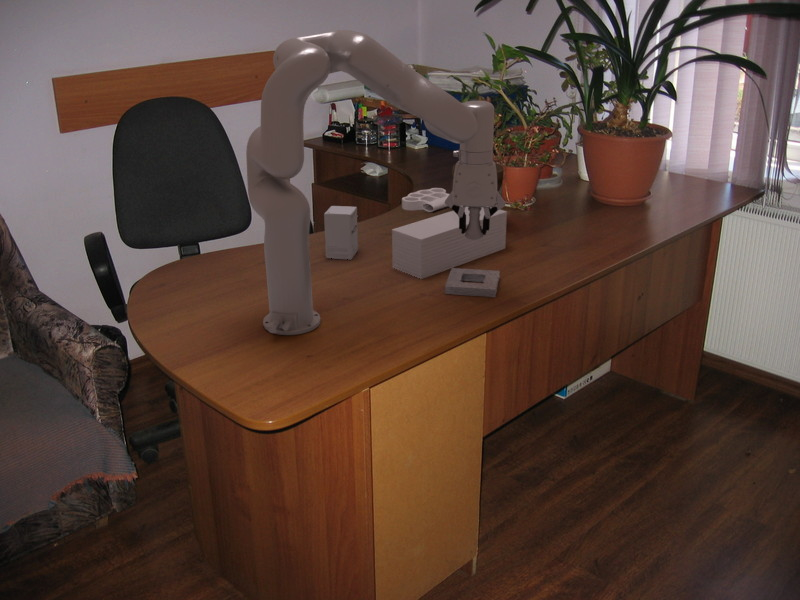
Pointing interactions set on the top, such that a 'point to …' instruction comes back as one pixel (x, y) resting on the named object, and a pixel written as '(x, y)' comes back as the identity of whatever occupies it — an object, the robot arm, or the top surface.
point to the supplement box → (341, 232)
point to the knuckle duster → (425, 200)
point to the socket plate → (472, 289)
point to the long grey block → (443, 243)
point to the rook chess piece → (474, 224)
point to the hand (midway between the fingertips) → (474, 231)
